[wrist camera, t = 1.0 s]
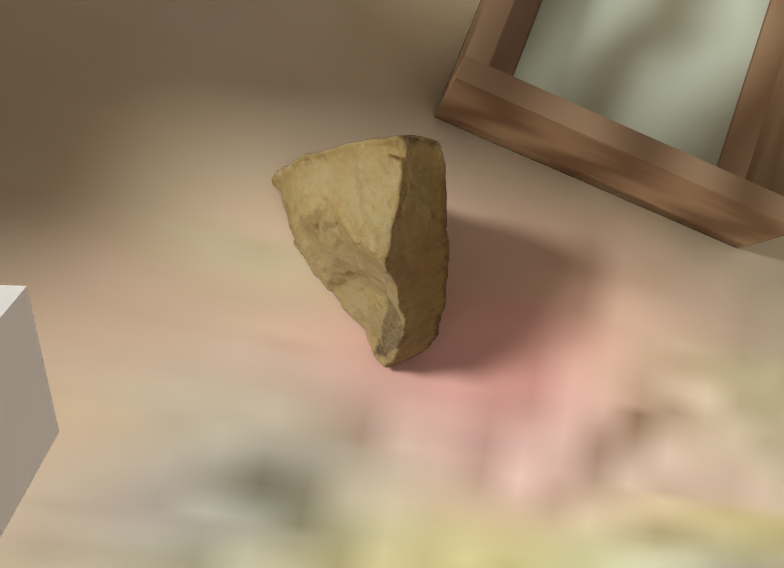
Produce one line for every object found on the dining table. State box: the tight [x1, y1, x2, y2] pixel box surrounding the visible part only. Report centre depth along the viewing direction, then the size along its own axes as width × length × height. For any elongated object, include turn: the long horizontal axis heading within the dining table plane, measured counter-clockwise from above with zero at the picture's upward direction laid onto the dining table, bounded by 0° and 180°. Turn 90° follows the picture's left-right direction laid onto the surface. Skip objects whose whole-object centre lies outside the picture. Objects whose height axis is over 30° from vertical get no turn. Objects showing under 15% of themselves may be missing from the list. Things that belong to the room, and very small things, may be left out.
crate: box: [434, 0, 784, 248], centre depth 37 cm, size 18×18×5 cm
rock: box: [272, 135, 449, 367], centre depth 33 cm, size 11×9×10 cm
